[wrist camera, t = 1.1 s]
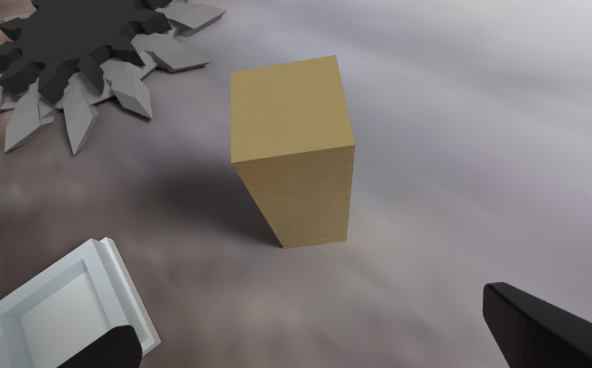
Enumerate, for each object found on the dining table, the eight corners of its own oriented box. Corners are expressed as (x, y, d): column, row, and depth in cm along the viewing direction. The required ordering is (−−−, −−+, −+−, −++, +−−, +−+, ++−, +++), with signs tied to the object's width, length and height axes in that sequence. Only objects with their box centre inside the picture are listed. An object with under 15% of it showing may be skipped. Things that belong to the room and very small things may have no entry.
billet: (346, 240, 22) (355, 144, 11) (283, 248, 22) (231, 162, 11) (336, 184, 24) (335, 55, 13) (279, 192, 24) (230, 72, 13)
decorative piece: (229, 98, 25) (-126, 177, 26) (243, 127, 28) (-70, 196, 29) (210, -87, 38) (-21, -31, 39) (221, -52, 42) (9, -1, 43)
